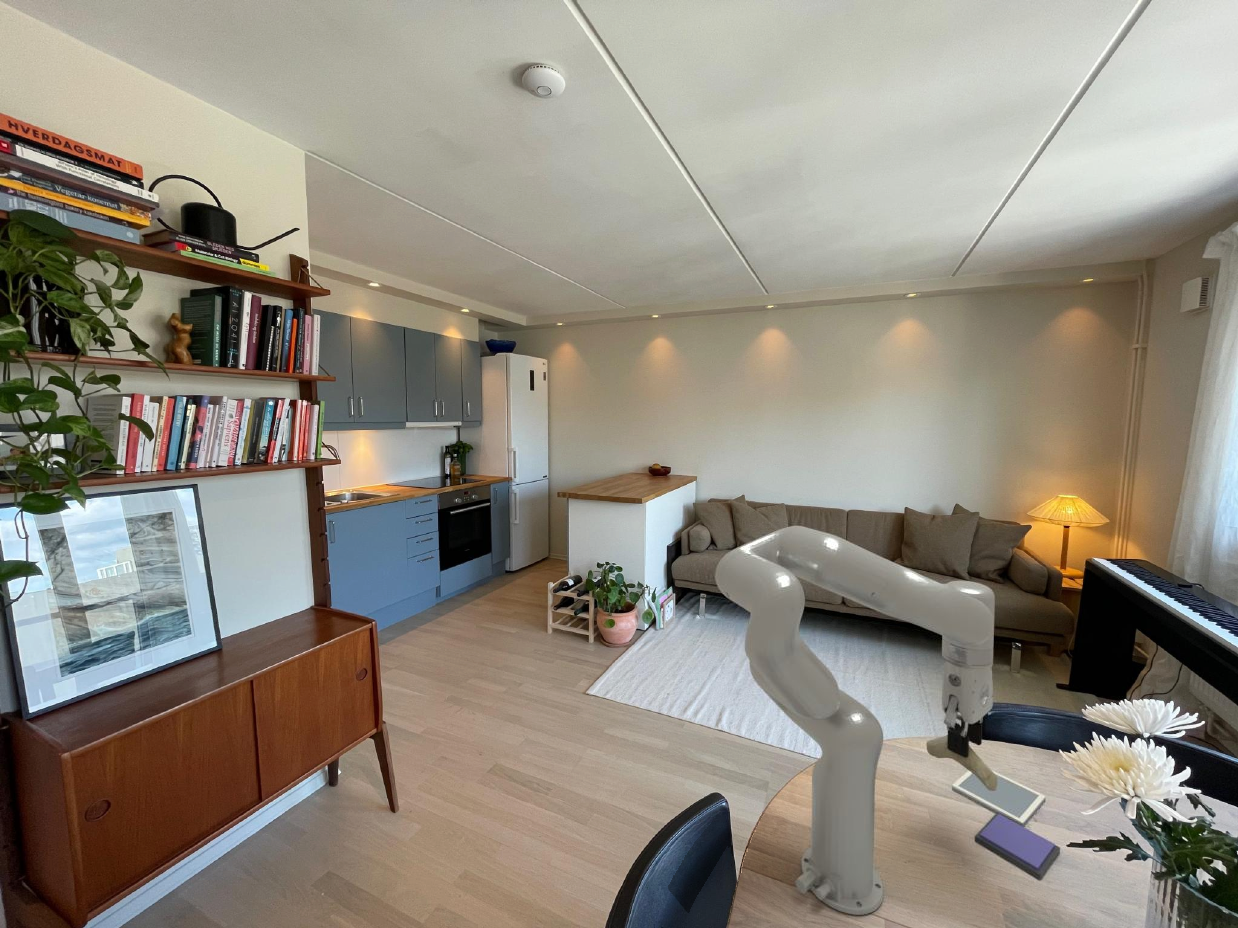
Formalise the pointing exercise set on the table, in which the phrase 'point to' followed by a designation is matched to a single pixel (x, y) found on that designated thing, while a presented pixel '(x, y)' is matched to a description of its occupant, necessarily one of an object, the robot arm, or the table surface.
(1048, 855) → the ink pad
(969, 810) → the table surface
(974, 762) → the beige curved piece
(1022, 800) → the white framed grey panel
